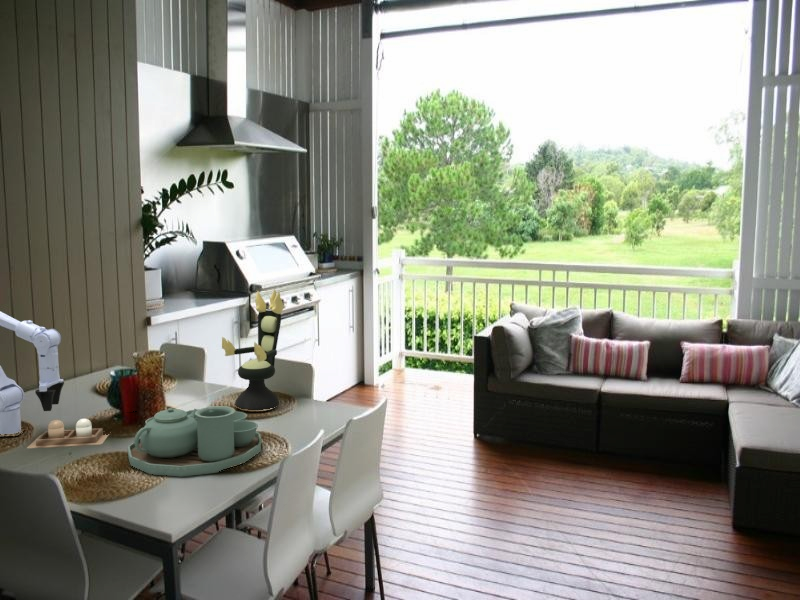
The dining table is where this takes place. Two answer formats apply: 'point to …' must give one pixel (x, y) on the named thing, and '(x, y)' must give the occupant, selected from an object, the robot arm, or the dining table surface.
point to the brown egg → (55, 429)
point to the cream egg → (83, 428)
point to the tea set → (194, 441)
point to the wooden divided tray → (69, 439)
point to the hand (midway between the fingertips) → (51, 407)
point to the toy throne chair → (260, 356)
